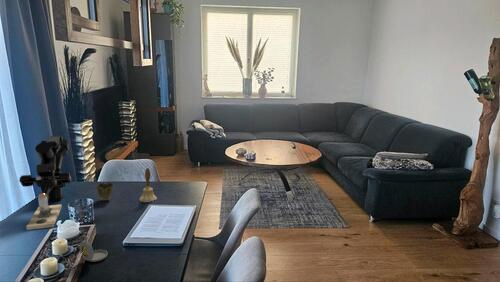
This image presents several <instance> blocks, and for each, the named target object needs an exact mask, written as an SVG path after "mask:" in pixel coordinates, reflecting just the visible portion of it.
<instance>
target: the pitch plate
mask: <svg viewBox="0 0 500 282" xmlns="http://www.w3.org/2000/svg"><path fill="white" fill-rule="evenodd" d="M62 206H63V205H62V204H51V205H48V209H49V211H50V210H51V214H50V216H49V217H40V218H38V214H39V213H40V210H39V206H38V207H37V209H36V210H35V212H34V213H33V215H32V217H31V218H30V220H29V221H28V223H27V225H26V231H29V230H30V231H31V230H38V229H45V228H53V227H54V226H55V223H56V221H57V219H58V217H59V215H60V212H61V210H62Z"/></svg>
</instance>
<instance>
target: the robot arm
mask: <svg viewBox="0 0 500 282" xmlns="http://www.w3.org/2000/svg"><path fill="white" fill-rule="evenodd" d="M34 149H35V152H36V154H37V156H38V158H39V159H40V163H39V164H36V168H35V169H36V175H37V176H35V177H33V176H32V175H31V174H25V175H24V174H23V175H21V176H20V177H19V183H20V184H21V186H22V187H32V186H34V184H36V186H37V187H38V188H40V190H41V193H45V194H46V195H47V199H48V202H60V201H62V200H63V199H64V198H65V197H66V195H65V194H62V188H65V187H66V186H67V185H66V184H71V183H72V177H71V174H70V173H71V172H69V171H67V172H66V171H65V172H62V170H61V169H62V164H63V159H64V157H66V156H67V155H68V152H69V151H70V144H69V142H68V140H67V139H65V138H64V137H63V135H51V136H50V138H49V139H48V140H41V141H40V143H38V144H37V145H36V146H35V148H34Z"/></svg>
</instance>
